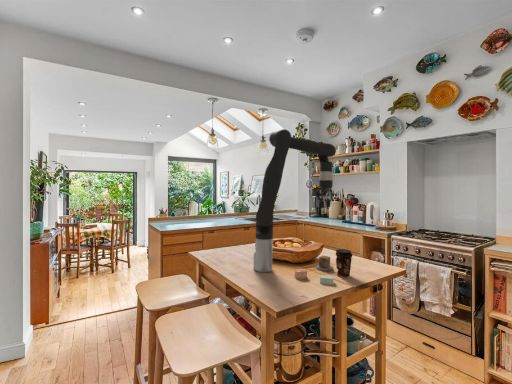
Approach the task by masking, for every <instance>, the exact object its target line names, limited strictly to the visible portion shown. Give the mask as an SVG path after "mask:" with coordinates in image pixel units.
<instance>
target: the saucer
mask: <svg viewBox="0 0 512 384" xmlns="http://www.w3.org/2000/svg"><path fill="white" fill-rule="evenodd" d="M315 269H316V270H317V271H321V272H332V271H333V266H332V265H330V267H329V268H327V269H325V268H321V267H319V264H317V265H315Z"/></svg>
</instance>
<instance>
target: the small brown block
mask: <svg viewBox="0 0 512 384" xmlns="http://www.w3.org/2000/svg"><path fill="white" fill-rule="evenodd" d="M307 278H308V271H307V269H304V268H297V269H295V270H294V279H296V280H300V281H301V280H303V281H304V280H307Z"/></svg>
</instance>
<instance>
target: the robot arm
mask: <svg viewBox="0 0 512 384" xmlns="http://www.w3.org/2000/svg"><path fill="white" fill-rule="evenodd" d="M268 142H269V143H270V145H271V146H272V147H274V151H273V154H272V157H271V159H270V161H269V163H268V164H267V166H266V169H265V171H264V176H263V181H262V188H261V196H260V197H261V198H260V203H259V206H258V209H257V212H256V214H255V250H254V251H253V270H255V271H256V272H259V273H270V272H272V271H273V250H274V249H273V242H274V241H273V238H274V237H273V236H274V210H275V204H276V203H275V202H276V200H277V197H278V193H279V190H280V187H281V184H282V178H283V174H284V169H285V164H286V158H287V156H288V153H289V149H291V150H297V151H300V152H303V153H308V154H312V155H317V157H318V161H319V167H320V168H319V177H318V178H319V179H318V180H319V182H318V183H319V185H318V188H321V189H318V194H317V195H318V197H317V199H318V201H319V204H320V205H319V208H320V209H324V208H325V205H326V208H330V207H331V201H332V200H333V189H332V188H333V184H334V182H333V180H334V179H333V177H334V175H333V168H334V167H333V162H332V161H330V160H329V158H331V157H333V156H335V154H336V153H337V148H336V146H334V145H333V144H331V143H325V142H318V141H315V140H311V139H306V138H300V137H299V138H298V137H293V136H292V133H291V132H290V131H289V130H287V129H278V130H274V131H272V132H271V134H270V135H269V141H268ZM325 200H326V204H325Z"/></svg>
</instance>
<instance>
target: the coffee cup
mask: <svg viewBox="0 0 512 384" xmlns="http://www.w3.org/2000/svg"><path fill="white" fill-rule="evenodd" d="M335 251H336V252H335V256H336V258H335V264H336V269H337V272H336V276H337V277H340V278H343V279H344V278H346V279H347V278H349V277H350V276H351V275H350V274H351V269H352V268H351V267H352V258H353V253H352V252H351V250H349V249H346V248H339V249H336V250H335Z"/></svg>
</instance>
